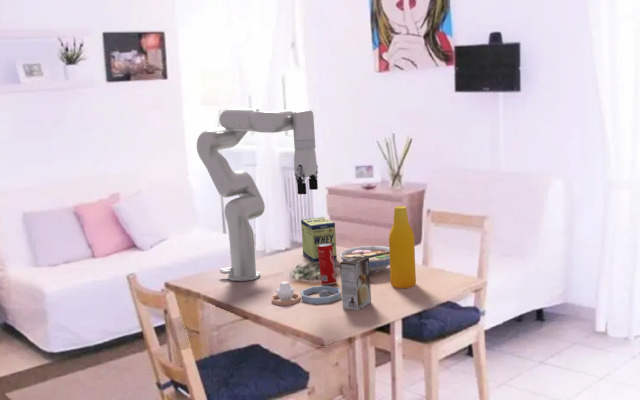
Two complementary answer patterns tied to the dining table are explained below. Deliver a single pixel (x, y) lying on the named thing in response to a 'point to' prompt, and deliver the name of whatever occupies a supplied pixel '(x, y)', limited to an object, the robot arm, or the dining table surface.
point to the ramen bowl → (370, 256)
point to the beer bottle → (402, 251)
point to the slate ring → (321, 299)
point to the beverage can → (326, 263)
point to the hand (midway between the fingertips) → (307, 191)
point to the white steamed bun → (285, 291)
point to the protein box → (317, 236)
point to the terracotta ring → (285, 301)
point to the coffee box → (355, 282)
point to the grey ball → (324, 293)
